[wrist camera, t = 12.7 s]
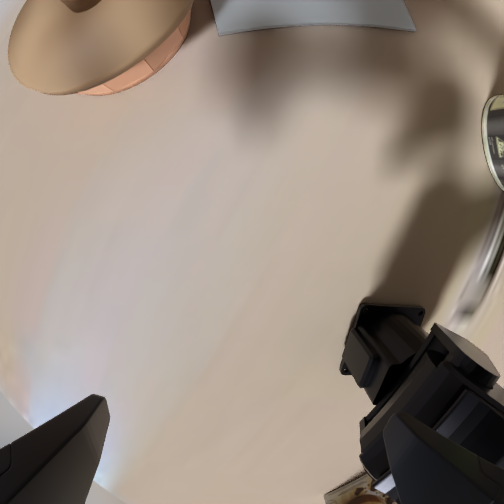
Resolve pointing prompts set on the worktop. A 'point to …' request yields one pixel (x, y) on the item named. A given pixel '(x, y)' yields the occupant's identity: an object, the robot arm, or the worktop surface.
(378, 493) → the coffee box
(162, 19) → the lid
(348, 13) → the mat
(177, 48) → the bowl
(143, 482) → the worktop surface
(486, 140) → the coffee can
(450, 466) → the robot arm
